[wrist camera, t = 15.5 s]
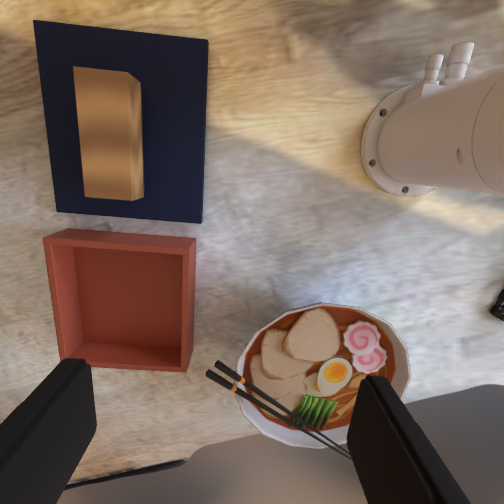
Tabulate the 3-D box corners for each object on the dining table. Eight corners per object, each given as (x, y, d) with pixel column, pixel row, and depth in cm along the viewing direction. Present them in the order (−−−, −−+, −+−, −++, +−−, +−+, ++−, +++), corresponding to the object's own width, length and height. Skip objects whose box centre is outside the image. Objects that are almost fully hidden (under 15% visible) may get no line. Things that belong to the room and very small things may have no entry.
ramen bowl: (419, 343, 43) (457, 383, 35) (314, 430, 48) (327, 482, 40) (303, 241, 37) (319, 261, 30) (198, 350, 42) (188, 392, 35)
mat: (38, 23, 29) (32, 19, 29) (208, 42, 30) (207, 39, 30) (60, 210, 35) (56, 211, 35) (202, 222, 36) (201, 223, 36)
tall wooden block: (99, 81, 31) (72, 66, 26) (145, 86, 31) (127, 72, 26) (107, 192, 34) (84, 196, 29) (148, 195, 34) (132, 200, 30)
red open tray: (68, 228, 36) (42, 237, 32) (196, 238, 37) (189, 248, 32) (81, 343, 41) (60, 365, 37) (193, 349, 42) (186, 372, 38)
